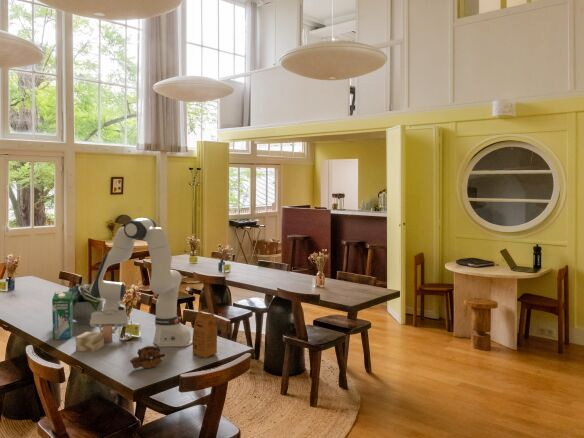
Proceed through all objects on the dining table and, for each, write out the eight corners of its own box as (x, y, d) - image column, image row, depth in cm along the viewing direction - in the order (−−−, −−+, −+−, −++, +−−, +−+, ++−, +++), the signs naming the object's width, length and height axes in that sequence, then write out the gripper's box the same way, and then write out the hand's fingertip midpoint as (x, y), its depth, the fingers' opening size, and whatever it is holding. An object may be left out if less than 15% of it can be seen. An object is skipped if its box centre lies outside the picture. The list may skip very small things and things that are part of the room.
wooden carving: (132, 372, 231) (132, 351, 230) (129, 369, 235) (129, 348, 234) (166, 365, 241) (166, 345, 240) (163, 362, 245) (163, 342, 244)
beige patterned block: (103, 345, 269) (103, 332, 268) (93, 351, 259) (93, 338, 258) (86, 344, 270) (86, 331, 270) (75, 350, 260) (75, 337, 260)
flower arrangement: (96, 328, 299) (96, 288, 298) (55, 327, 300) (54, 287, 298) (112, 317, 324) (111, 280, 322) (74, 316, 325) (73, 279, 323)
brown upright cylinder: (113, 340, 277) (113, 325, 276) (109, 343, 272) (109, 327, 271) (105, 340, 278) (105, 324, 277) (101, 343, 273) (101, 326, 272)
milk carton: (52, 339, 277) (52, 295, 276) (55, 335, 286) (55, 291, 284) (70, 338, 280) (69, 294, 278) (73, 333, 288) (72, 291, 287)
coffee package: (204, 349, 266) (204, 308, 264) (219, 354, 257) (219, 312, 256) (189, 353, 258) (189, 311, 257) (204, 359, 250) (204, 316, 248)
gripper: (91, 308, 279) (86, 330, 270) (128, 307, 282) (125, 329, 273) (93, 314, 284) (88, 336, 275) (130, 313, 286) (127, 335, 277)
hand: (107, 333), depth 274 cm, fingers open, 5 cm apart
